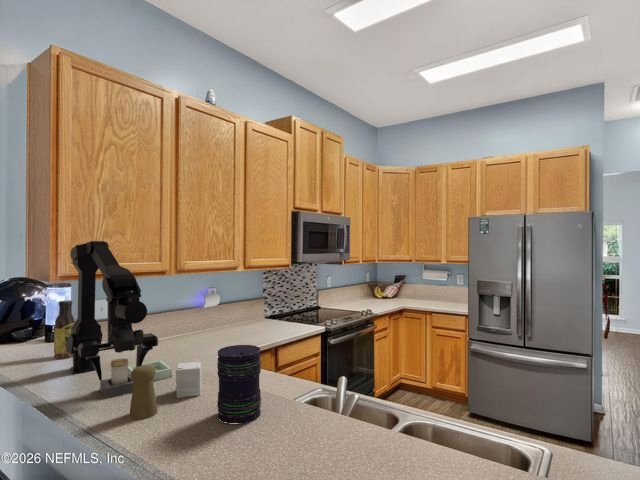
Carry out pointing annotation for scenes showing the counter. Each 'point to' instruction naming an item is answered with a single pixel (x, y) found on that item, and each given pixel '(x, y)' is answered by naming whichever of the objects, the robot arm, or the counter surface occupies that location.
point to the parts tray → (156, 369)
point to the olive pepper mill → (143, 393)
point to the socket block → (116, 387)
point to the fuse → (119, 371)
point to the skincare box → (188, 379)
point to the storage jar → (239, 383)
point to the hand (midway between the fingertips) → (119, 376)
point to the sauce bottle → (63, 329)
